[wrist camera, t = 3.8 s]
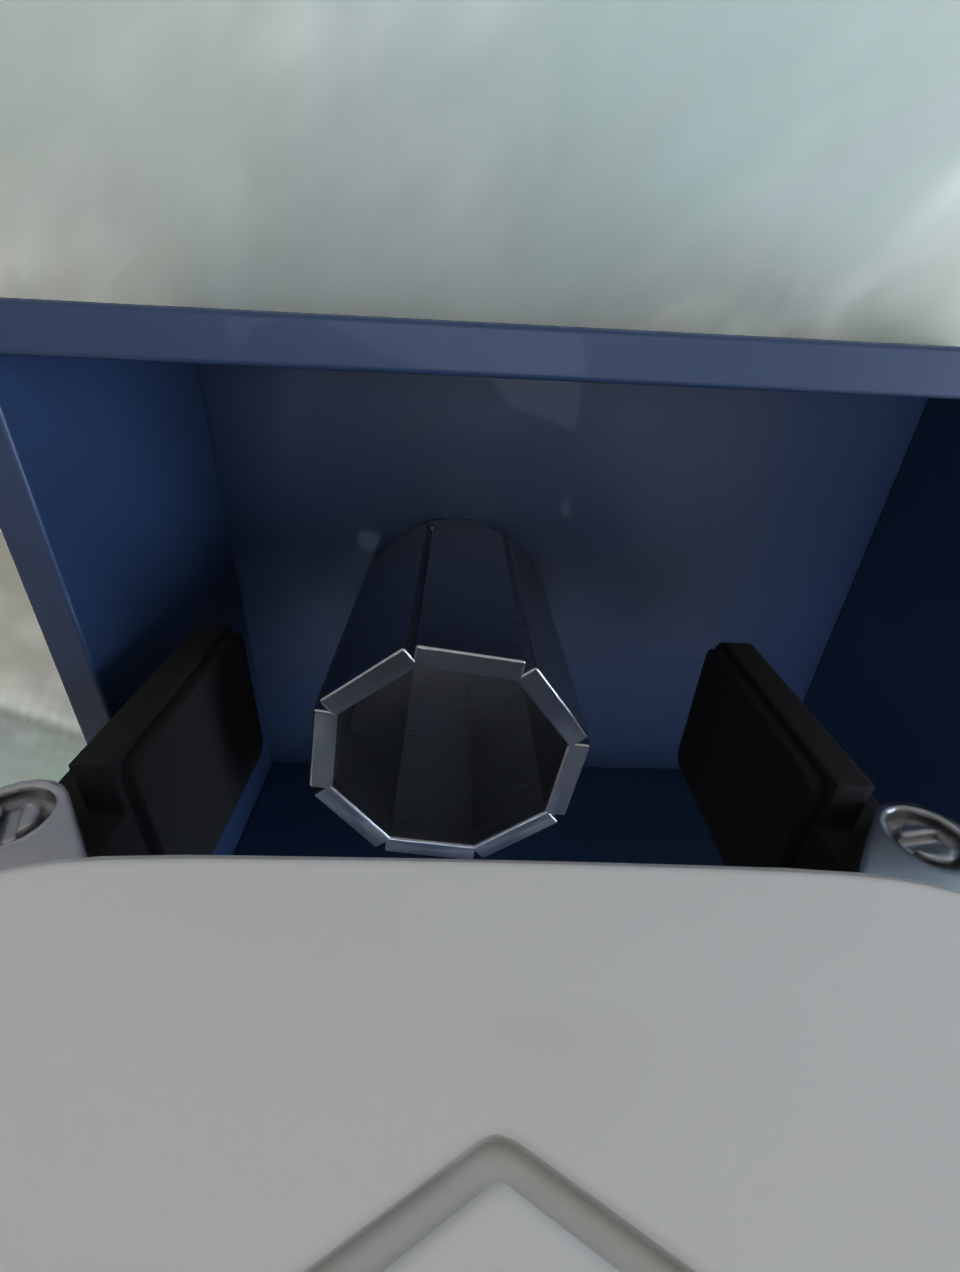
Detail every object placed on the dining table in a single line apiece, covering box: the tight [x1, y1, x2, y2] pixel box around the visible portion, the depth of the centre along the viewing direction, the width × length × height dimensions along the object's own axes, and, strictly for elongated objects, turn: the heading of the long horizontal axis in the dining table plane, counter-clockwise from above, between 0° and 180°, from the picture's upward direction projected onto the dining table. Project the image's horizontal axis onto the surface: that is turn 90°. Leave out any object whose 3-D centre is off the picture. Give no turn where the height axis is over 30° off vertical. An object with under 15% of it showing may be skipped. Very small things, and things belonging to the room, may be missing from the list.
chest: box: [0, 298, 960, 866], centre depth 13 cm, size 13×18×7 cm
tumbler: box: [310, 519, 590, 859], centre depth 12 cm, size 5×5×6 cm
